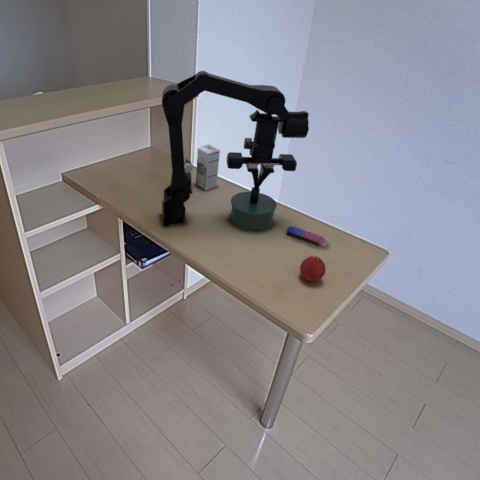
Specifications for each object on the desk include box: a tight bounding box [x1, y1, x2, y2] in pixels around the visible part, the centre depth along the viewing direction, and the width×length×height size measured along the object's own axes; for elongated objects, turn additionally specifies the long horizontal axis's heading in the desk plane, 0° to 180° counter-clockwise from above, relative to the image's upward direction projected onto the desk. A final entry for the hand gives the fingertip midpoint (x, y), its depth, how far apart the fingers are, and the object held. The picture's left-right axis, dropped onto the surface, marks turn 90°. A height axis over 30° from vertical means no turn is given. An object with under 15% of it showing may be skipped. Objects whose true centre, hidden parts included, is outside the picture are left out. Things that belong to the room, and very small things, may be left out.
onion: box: [299, 255, 326, 282], centre depth 91 cm, size 6×6×8 cm
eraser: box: [286, 225, 327, 248], centre depth 107 cm, size 11×4×2 cm, turn 53°
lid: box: [230, 186, 278, 215], centre depth 111 cm, size 14×14×6 cm
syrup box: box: [195, 144, 221, 191], centre depth 131 cm, size 6×6×14 cm
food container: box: [184, 157, 194, 173], centre depth 130 cm, size 12×6×10 cm, turn 168°
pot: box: [229, 205, 276, 232], centre depth 114 cm, size 13×13×6 cm
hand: (256, 188), depth 109 cm, fingers closed
